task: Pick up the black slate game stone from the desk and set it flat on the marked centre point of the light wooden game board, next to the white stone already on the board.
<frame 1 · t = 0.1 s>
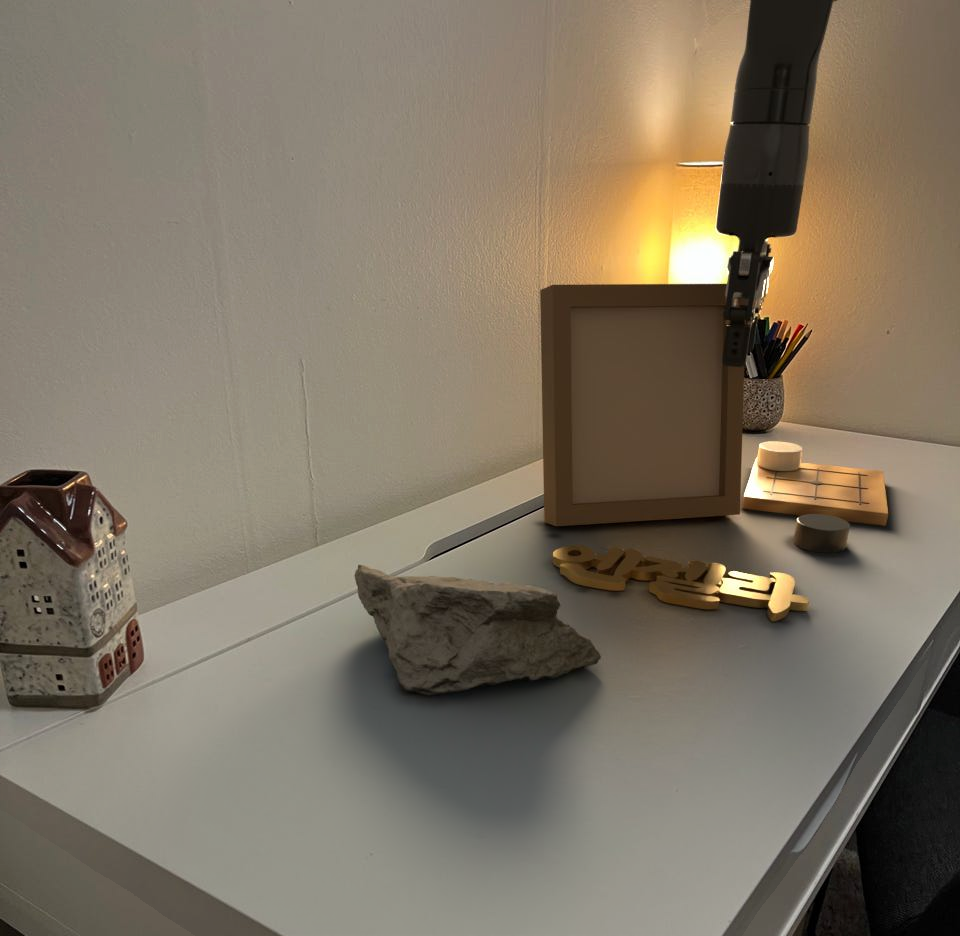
hand: (737, 358, 96), 19 cm above the table, tool pointing down, fingers open, 8 cm apart
photo frame: (624, 509, 113), on the table
lettering: (673, 584, 92), on the table
black stone: (819, 544, 103), on the table
game board: (814, 495, 118), on the table
white stone: (777, 465, 124), point 2 cm above the table, touching game board
fossil stone: (458, 659, 78), on the table
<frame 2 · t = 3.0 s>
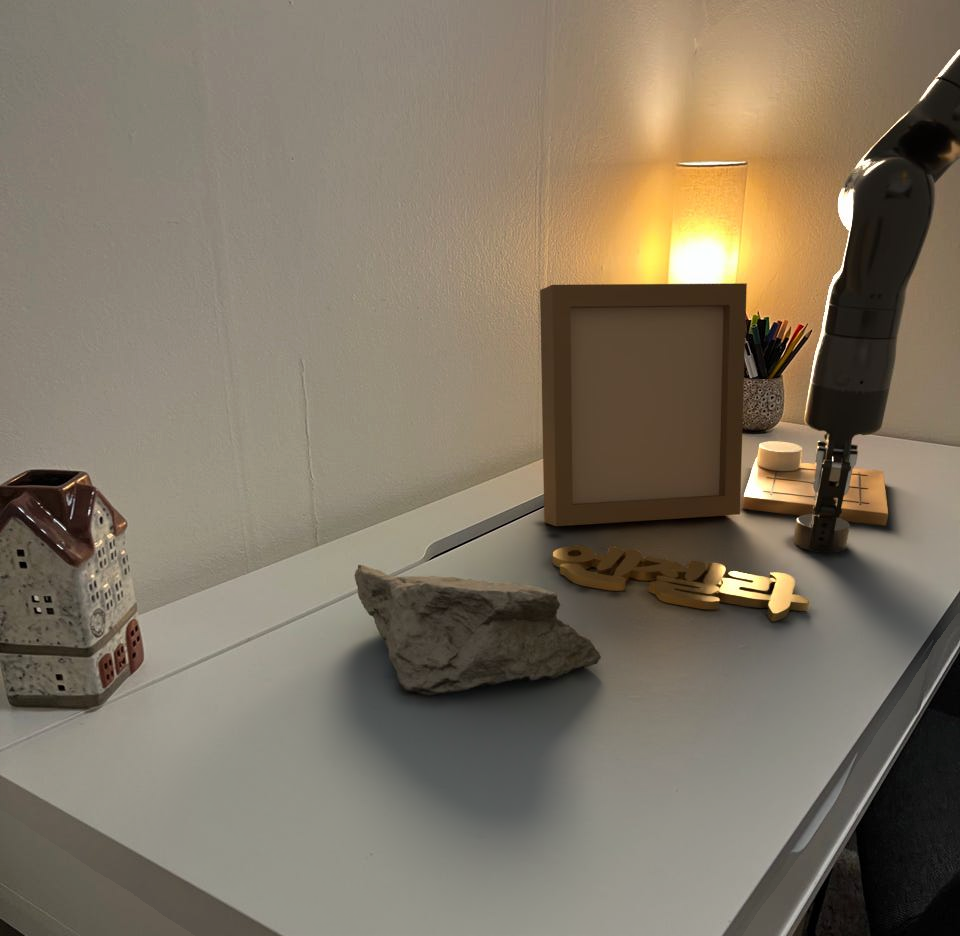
hand: (819, 539, 103), 0 cm above the table, tool pointing down, fingers closed on black stone, 5 cm apart
black stone: (819, 544, 103), on the table, touching gripper
everything else where it was.
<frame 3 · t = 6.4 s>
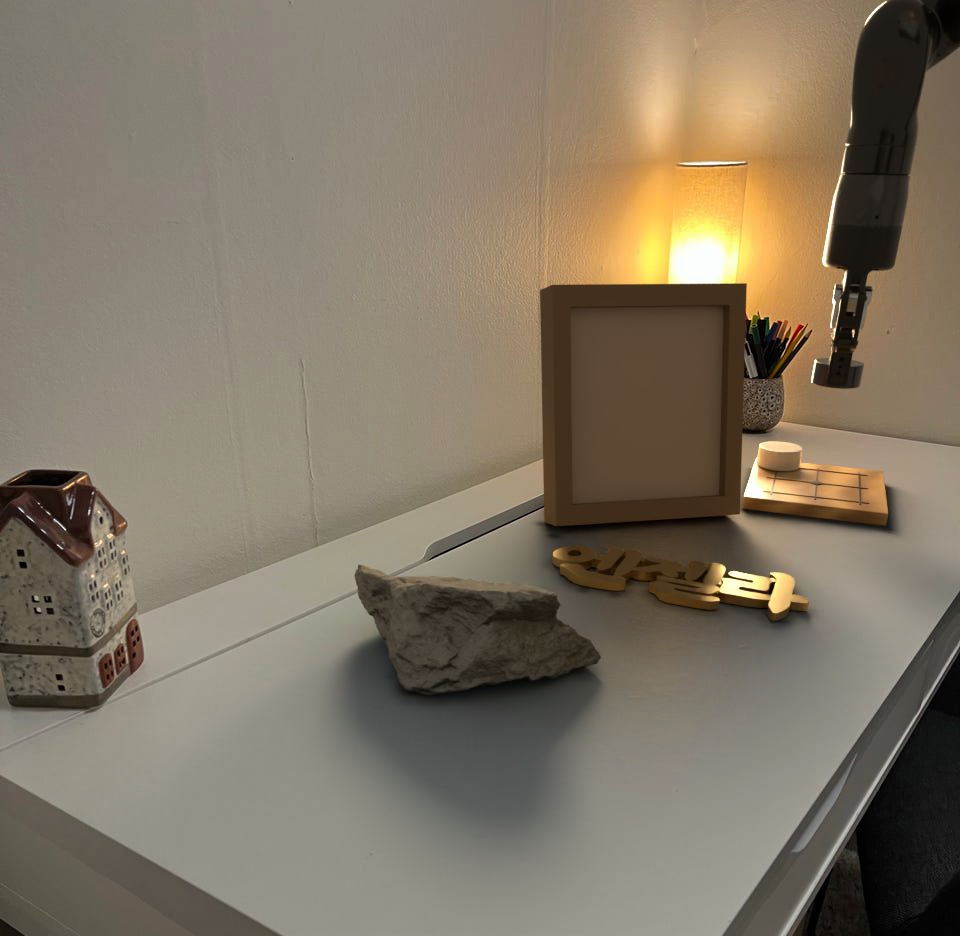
hand: (836, 379, 111), 14 cm above the table, tool pointing down, fingers closed on black stone, 5 cm apart
black stone: (835, 384, 111), point 14 cm above the table, touching gripper
everything else where it was.
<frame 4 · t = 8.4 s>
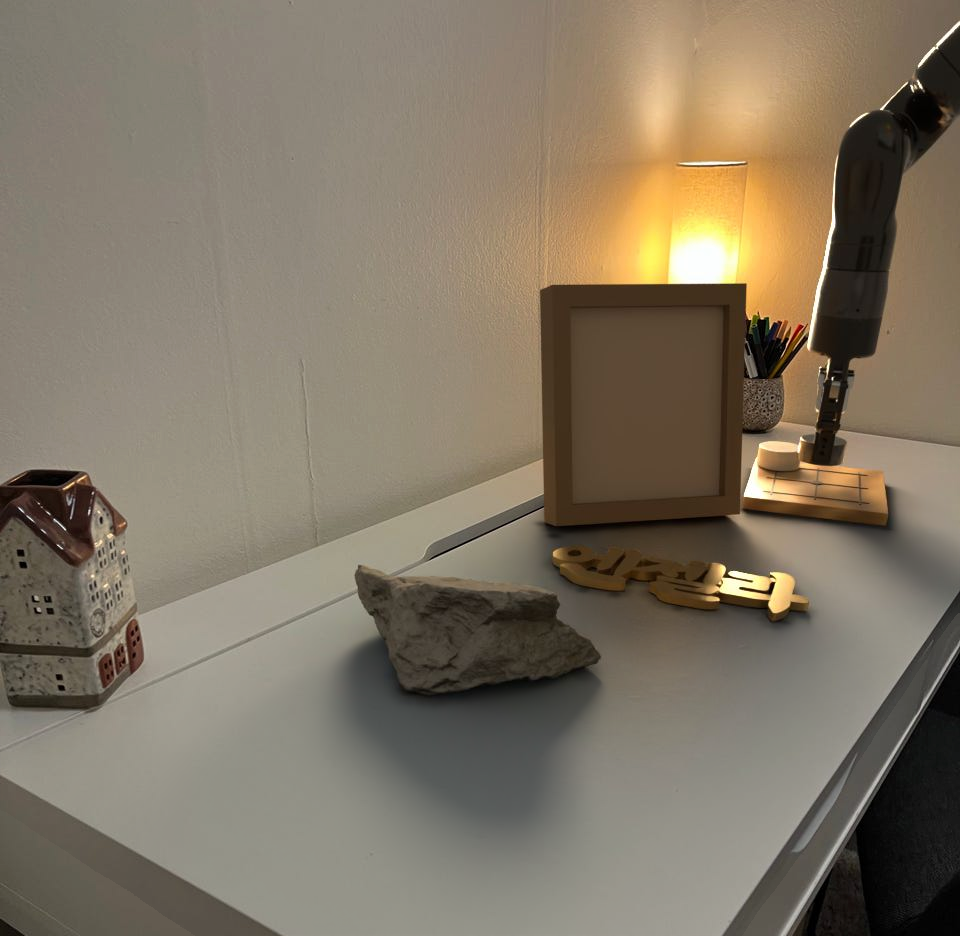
hand: (821, 456, 116), 5 cm above the table, tool pointing down, fingers closed on black stone, 5 cm apart
black stone: (820, 459, 117), point 4 cm above the table, touching gripper
everything else where it was.
when the fingers open (2 cm above the table, at t = 9.7 s): black stone stays where it is, resting on game board.
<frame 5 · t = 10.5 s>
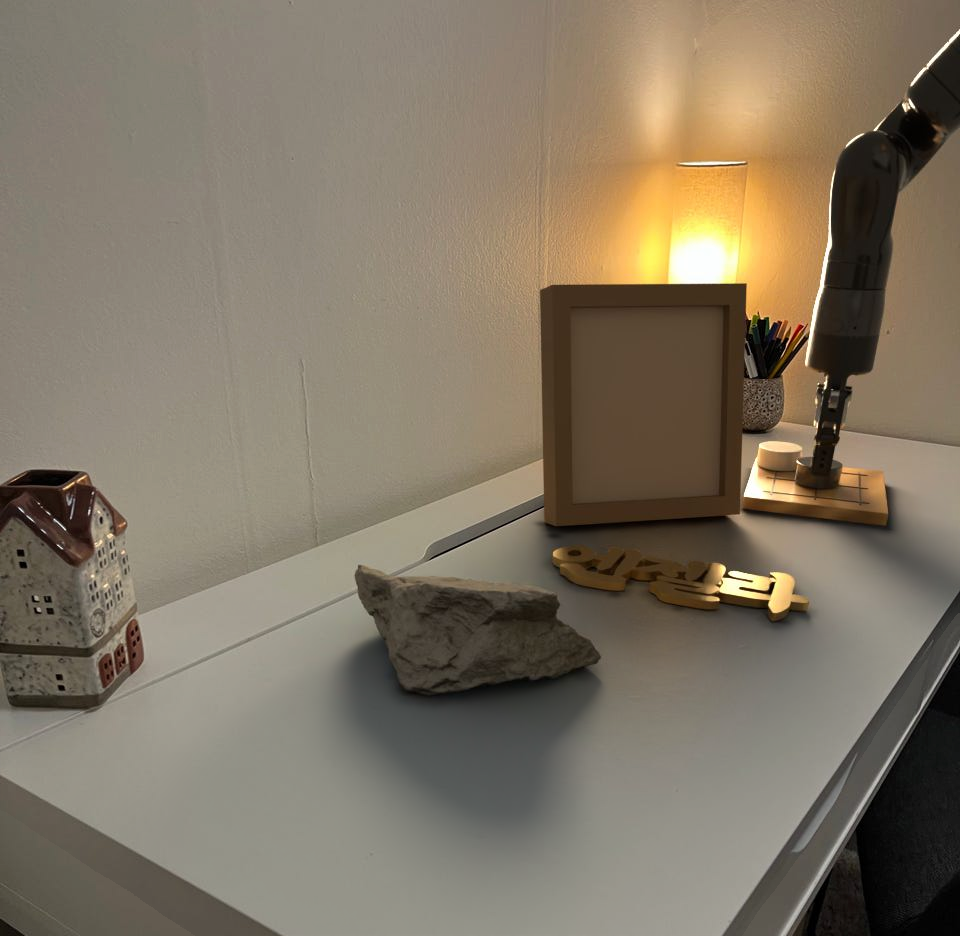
hand: (820, 466, 117), 4 cm above the table, tool pointing down, fingers open, 8 cm apart
black stone: (816, 482, 118), point 2 cm above the table, touching game board
everything else where it was.
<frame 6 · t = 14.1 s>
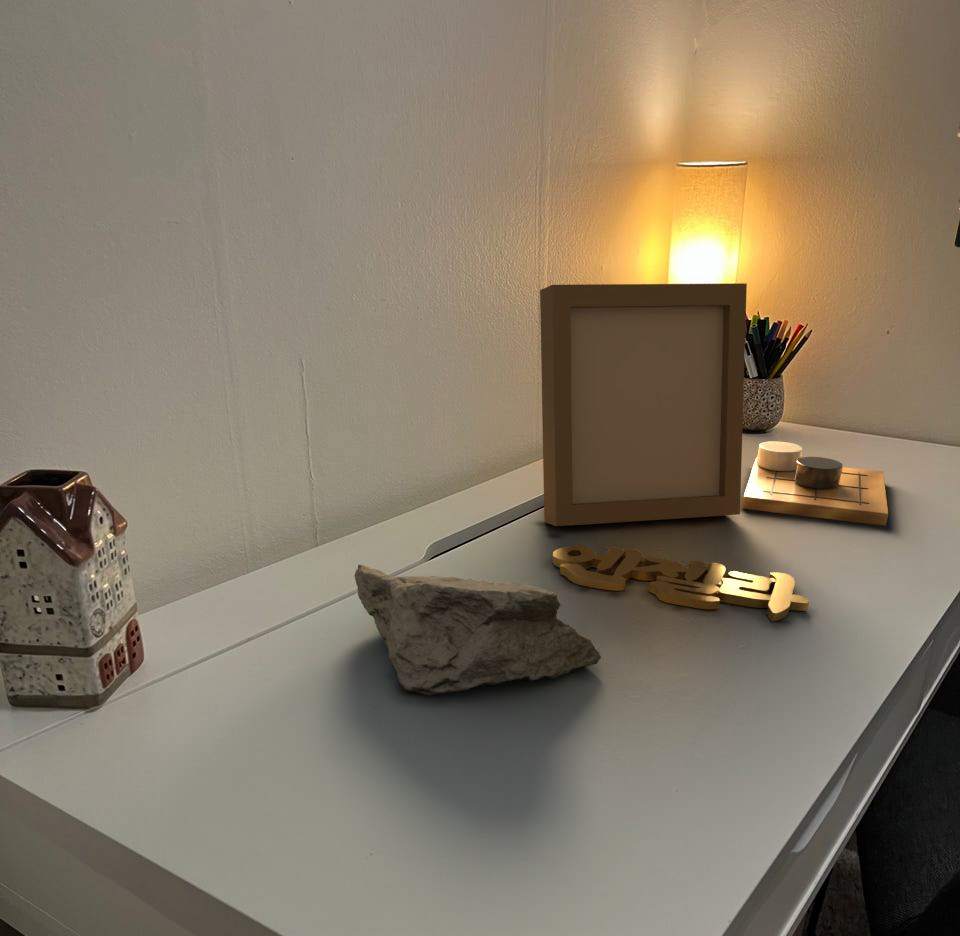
nothing on the table moved.
at the end: black stone 0.1 cm off-centre on the game board, point 1.6 cm above the game board's base; black stone tilted 0°; the gripper is holding nothing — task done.
